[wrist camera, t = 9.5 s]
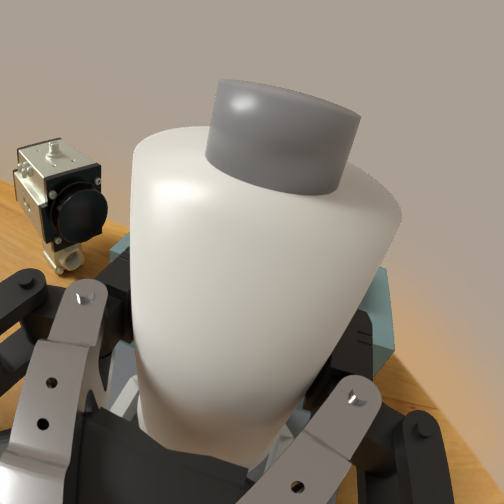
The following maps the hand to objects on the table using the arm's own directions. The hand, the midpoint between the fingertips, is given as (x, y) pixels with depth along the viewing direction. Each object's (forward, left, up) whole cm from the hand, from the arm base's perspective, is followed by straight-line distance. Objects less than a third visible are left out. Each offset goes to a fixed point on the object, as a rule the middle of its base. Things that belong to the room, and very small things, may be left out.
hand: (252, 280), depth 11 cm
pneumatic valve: (-19, +9, -13) cm, 25 cm away
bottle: (0, -3, -6) cm, 7 cm away
